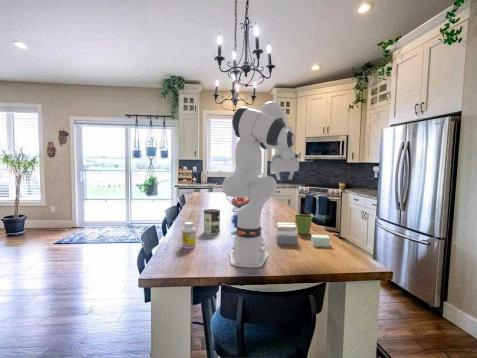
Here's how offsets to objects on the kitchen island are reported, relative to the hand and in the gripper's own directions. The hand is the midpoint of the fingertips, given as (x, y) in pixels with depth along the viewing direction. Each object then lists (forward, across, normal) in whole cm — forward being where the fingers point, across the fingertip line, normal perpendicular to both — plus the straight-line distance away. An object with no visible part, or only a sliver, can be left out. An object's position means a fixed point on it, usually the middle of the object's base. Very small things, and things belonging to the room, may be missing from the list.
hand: (284, 179), depth 152 cm
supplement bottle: (+35, -49, +21) cm, 64 cm away
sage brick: (+36, +11, -17) cm, 41 cm away
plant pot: (+36, +23, +4) cm, 42 cm away
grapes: (+35, -7, +31) cm, 47 cm away
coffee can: (+35, -24, +39) cm, 58 cm away
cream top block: (+31, 0, -2) cm, 31 cm away
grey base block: (+36, +1, -2) cm, 36 cm away
